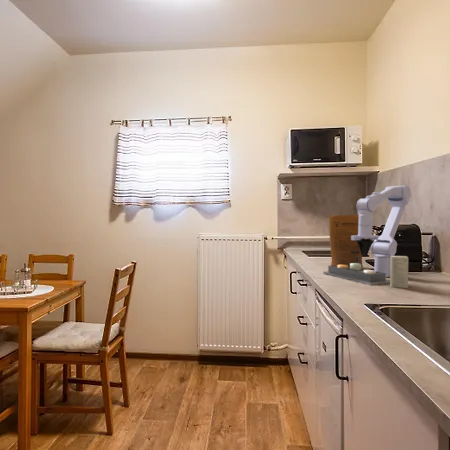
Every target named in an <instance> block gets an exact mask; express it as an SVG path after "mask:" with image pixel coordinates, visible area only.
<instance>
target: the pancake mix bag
mask: <svg viewBox="0 0 450 450" xmlns="http://www.w3.org/2000/svg"><path fill="white" fill-rule="evenodd" d="M358 224H359V215H358V214H332V215H331V216H329V217H328V233H329V234H328V235H329V242H330V243H329V246H330V257H331V263H330V266H332V265H348V266H350V263H359V264H361V268H362V269H363V268H364V266H363V256H362V255H361V251H360V248H359V245H358V243H357V240H351V236H355V235H358ZM363 239H366V238H363Z"/></svg>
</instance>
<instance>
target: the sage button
mask: <svg viewBox="0 0 450 450" xmlns="http://www.w3.org/2000/svg"><path fill="white" fill-rule="evenodd" d="M350 270H355V271H357V270H361V264H359V263H350Z"/></svg>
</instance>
